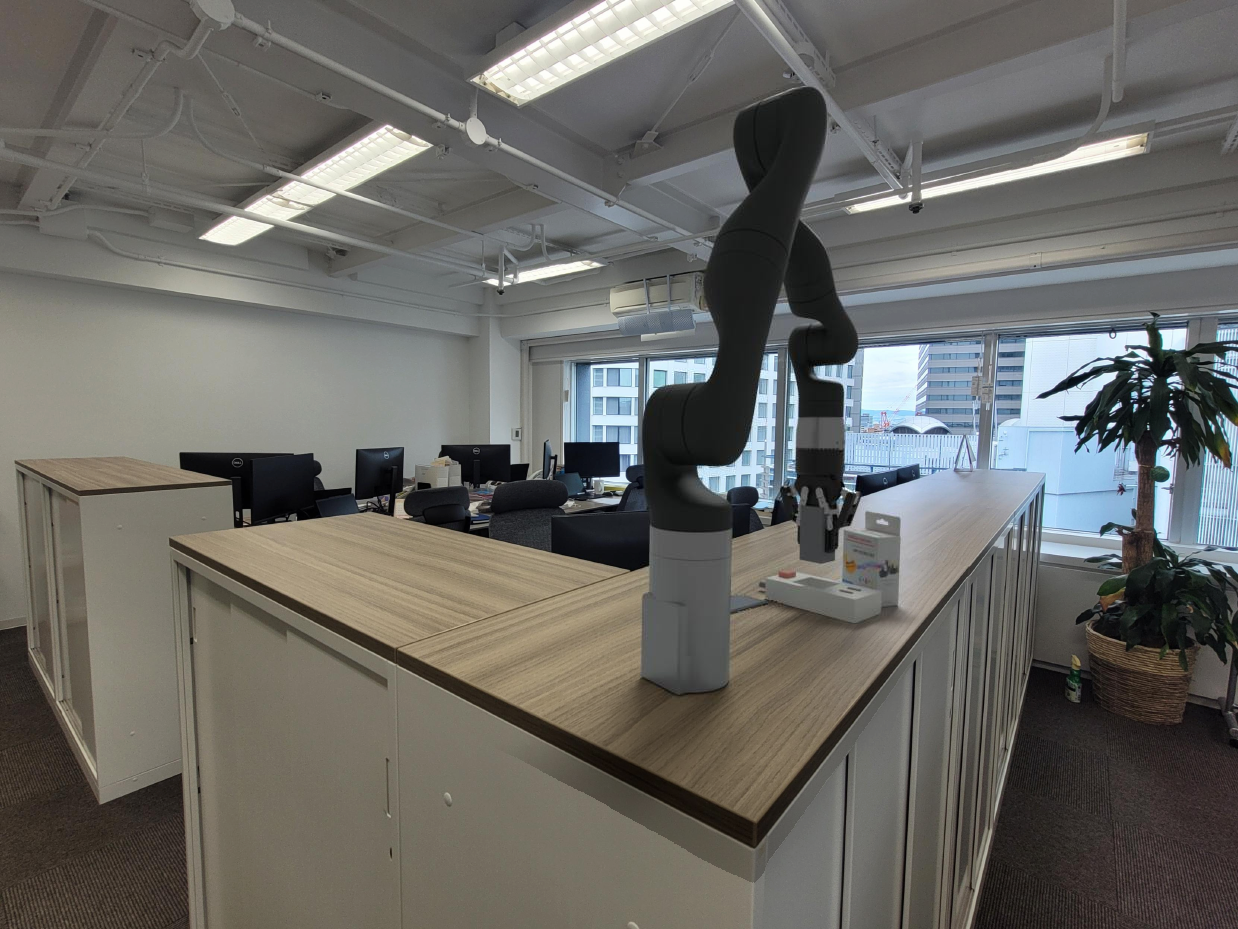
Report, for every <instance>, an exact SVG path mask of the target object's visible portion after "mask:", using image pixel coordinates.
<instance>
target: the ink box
mask: <svg viewBox="0 0 1238 929" xmlns="http://www.w3.org/2000/svg"><path fill="white" fill-rule="evenodd" d="M864 520H865V524H864V526H865V528H844V529H843V543H842V546H843V548H842V571H841V572H842V576H841V580H842V581H841V582H843V583H848V584H853V585H857V586H862V587H866V588H871V589H875V590H880V591H882V596H881V608H885V607H894V606H898V605H899V594H900V591H899V588H900V563H901V560H900V559H901V540H902V538H901V522H902V521H901V520H902V519H901V518H900V516H895V515H891V514H885V513H879V512H872V511H868V510H867V511H865V514H864ZM882 520H883V521H884V522H887V523H888V524H883V523H878V522H877V521H882Z"/></svg>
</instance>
